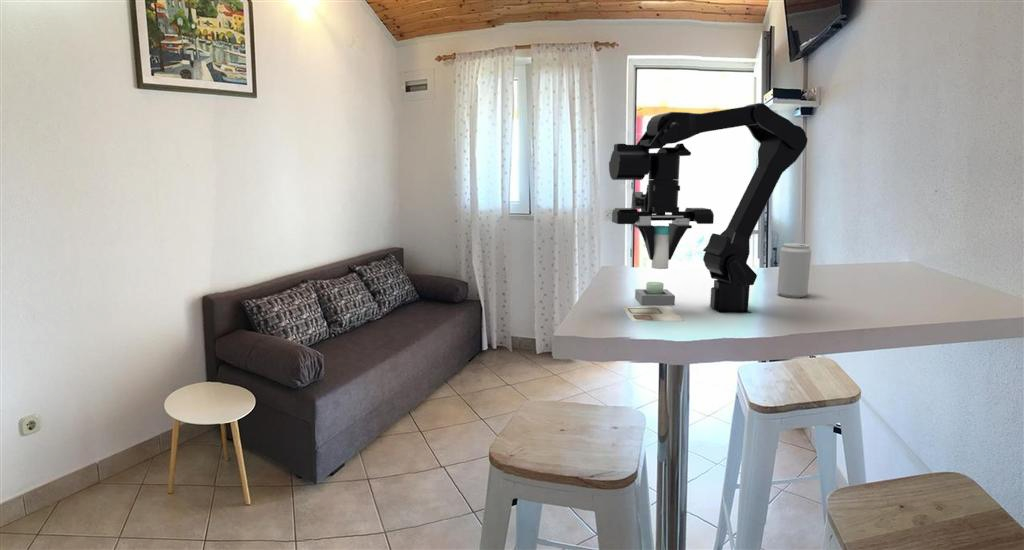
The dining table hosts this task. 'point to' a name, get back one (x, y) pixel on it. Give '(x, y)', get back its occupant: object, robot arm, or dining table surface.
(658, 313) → the drawing board
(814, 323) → the dining table surface
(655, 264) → the marker
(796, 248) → the beverage can
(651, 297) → the button housing
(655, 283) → the button
